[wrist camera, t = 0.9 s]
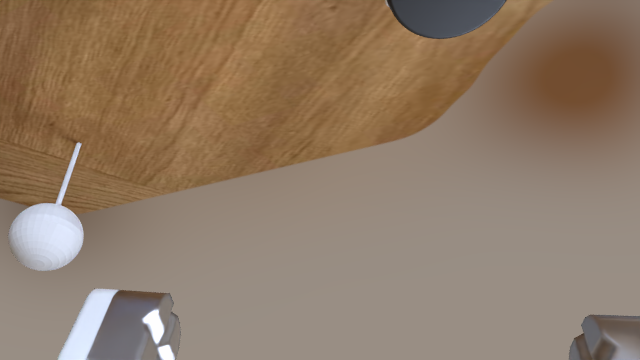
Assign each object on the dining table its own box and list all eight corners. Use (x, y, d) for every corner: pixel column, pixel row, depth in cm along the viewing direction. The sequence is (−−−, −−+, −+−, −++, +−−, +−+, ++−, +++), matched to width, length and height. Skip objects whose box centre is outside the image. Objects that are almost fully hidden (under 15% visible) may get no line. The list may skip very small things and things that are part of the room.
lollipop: (69, 111, 54) (22, 232, 43) (121, 143, 57) (89, 262, 46) (35, 145, 56) (-16, 266, 46) (87, 173, 60) (50, 292, 49)
